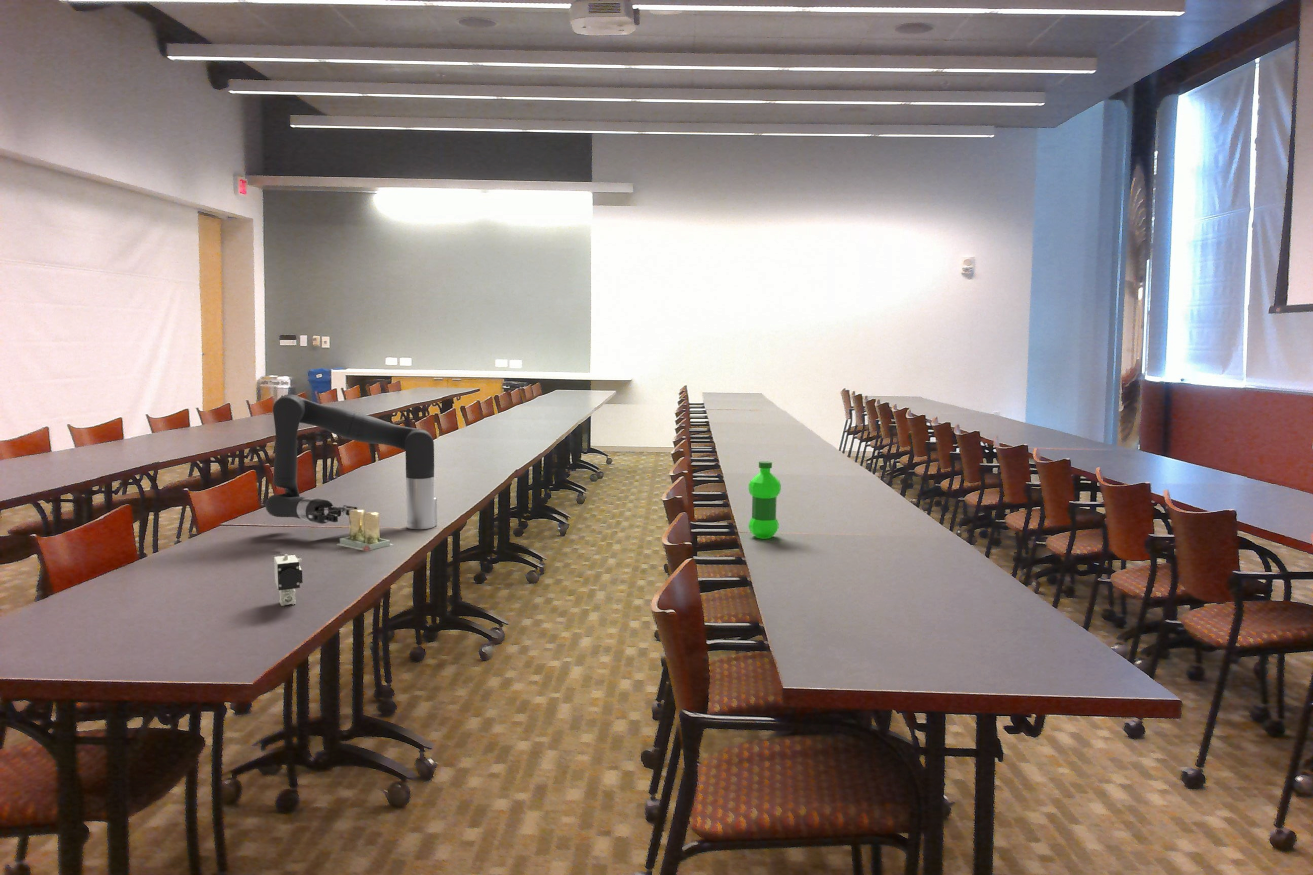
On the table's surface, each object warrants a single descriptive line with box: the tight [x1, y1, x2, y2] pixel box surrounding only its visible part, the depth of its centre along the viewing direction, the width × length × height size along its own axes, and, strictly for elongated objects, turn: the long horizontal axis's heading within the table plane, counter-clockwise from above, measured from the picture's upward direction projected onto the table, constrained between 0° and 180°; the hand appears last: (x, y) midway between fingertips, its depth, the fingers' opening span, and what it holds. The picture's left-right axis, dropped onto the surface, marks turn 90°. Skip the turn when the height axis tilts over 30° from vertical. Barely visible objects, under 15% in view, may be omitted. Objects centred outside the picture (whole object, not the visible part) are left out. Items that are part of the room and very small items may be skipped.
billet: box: [348, 508, 366, 541], centre depth 261 cm, size 4×4×10 cm
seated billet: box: [363, 511, 381, 544], centre depth 257 cm, size 4×4×10 cm
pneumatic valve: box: [273, 553, 303, 607], centre depth 205 cm, size 6×12×12 cm, turn 29°
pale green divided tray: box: [336, 536, 394, 552], centre depth 260 cm, size 10×14×3 cm
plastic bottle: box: [748, 460, 782, 540], centre depth 281 cm, size 10×10×25 cm
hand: (348, 516), depth 263 cm, fingers open, 8 cm apart
